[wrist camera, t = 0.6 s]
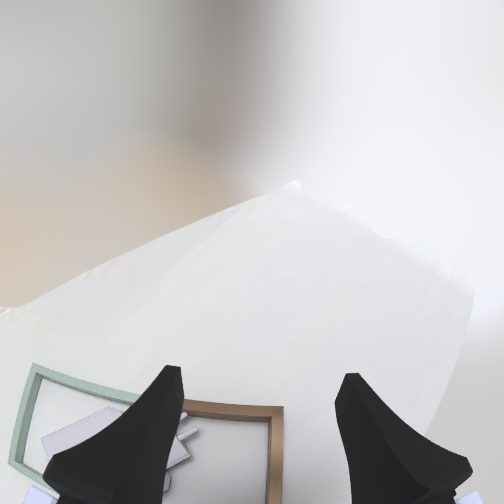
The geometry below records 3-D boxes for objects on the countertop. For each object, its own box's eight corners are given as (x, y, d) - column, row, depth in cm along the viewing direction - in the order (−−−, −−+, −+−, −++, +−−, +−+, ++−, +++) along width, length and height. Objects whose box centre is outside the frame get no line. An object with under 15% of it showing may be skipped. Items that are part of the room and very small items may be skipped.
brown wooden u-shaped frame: (274, 539, 15) (278, 546, 13) (153, 526, 15) (144, 530, 13) (279, 413, 25) (283, 406, 23) (169, 403, 25) (162, 395, 23)
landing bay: (153, 526, 15) (149, 528, 14) (15, 466, 15) (7, 463, 14) (169, 403, 25) (165, 399, 24) (39, 368, 25) (32, 362, 24)
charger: (223, 460, 21) (102, 517, 14) (171, 389, 26) (62, 444, 19) (220, 458, 18) (80, 521, 11) (160, 374, 23) (38, 435, 16)
